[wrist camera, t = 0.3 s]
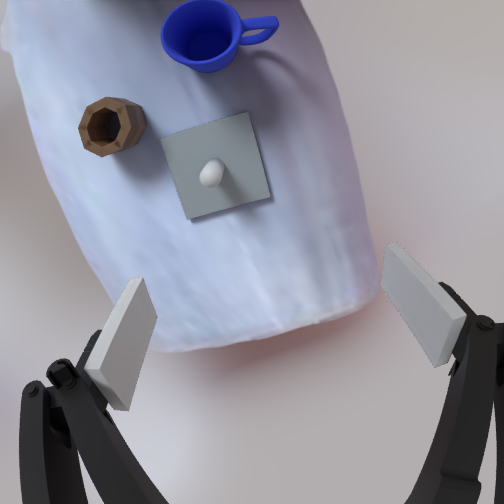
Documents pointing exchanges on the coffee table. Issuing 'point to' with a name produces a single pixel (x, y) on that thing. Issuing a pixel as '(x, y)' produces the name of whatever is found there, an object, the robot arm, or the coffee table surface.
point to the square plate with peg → (216, 165)
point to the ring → (96, 129)
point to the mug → (210, 33)
